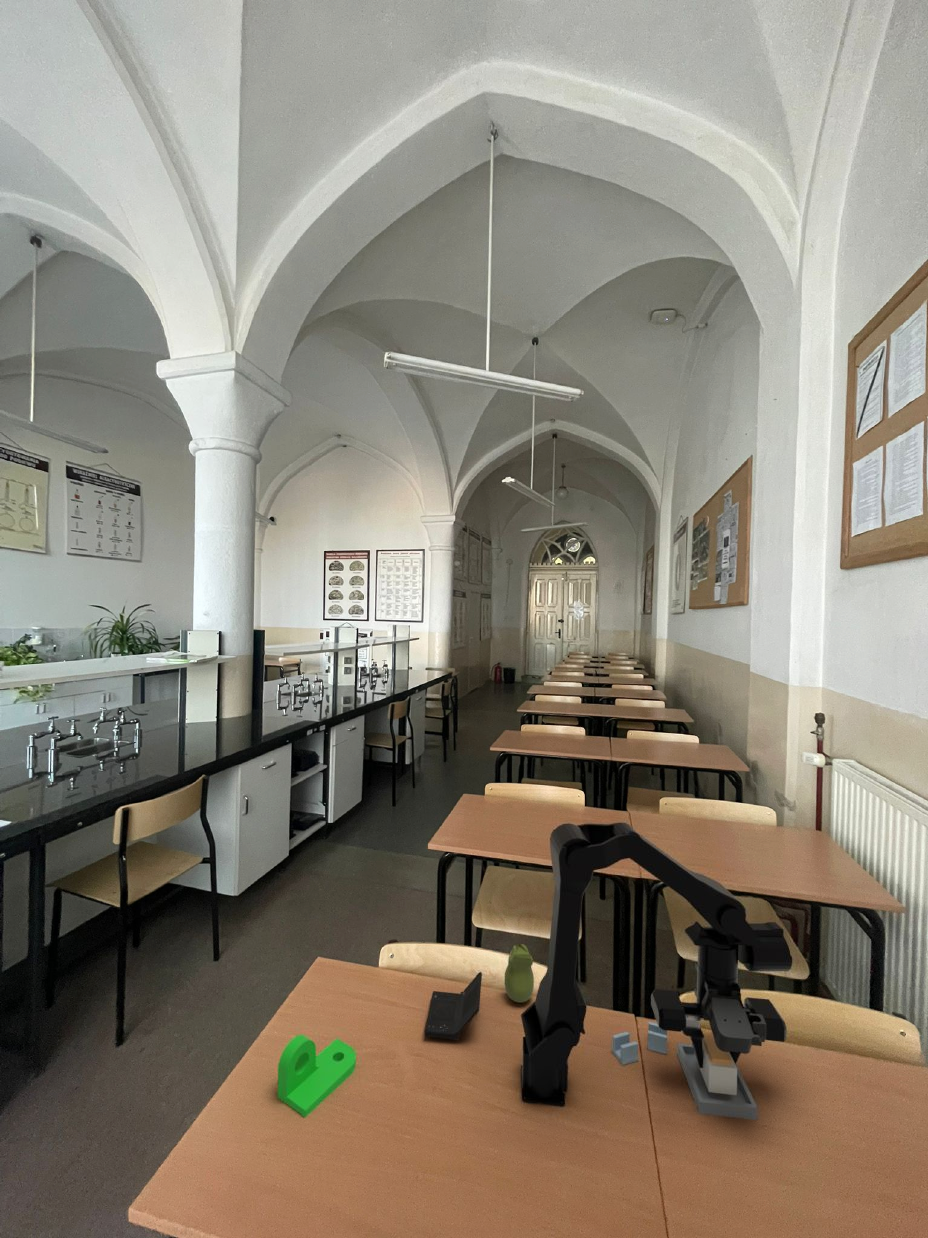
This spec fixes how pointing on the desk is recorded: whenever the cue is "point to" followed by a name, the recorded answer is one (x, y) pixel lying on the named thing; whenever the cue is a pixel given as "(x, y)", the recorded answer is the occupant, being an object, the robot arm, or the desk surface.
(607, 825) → the robot arm
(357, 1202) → the desk surface
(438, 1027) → the handheld gaming console
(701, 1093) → the grey rectangular tray
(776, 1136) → the desk surface
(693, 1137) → the desk surface
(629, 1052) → the clip
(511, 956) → the pear
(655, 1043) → the clip
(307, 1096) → the mechanical part
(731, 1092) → the white orange block
